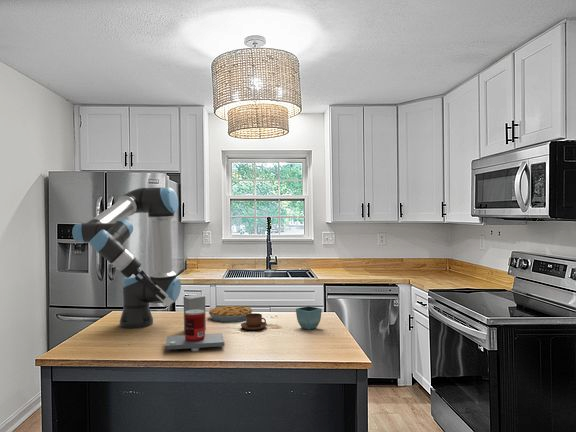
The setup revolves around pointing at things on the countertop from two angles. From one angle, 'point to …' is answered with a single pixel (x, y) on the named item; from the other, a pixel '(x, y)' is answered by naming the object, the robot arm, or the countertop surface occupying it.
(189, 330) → the canned food
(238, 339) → the countertop surface
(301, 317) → the flower pot
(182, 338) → the plate
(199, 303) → the skincare box
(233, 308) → the pie
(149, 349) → the countertop surface
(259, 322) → the cup and saucer
